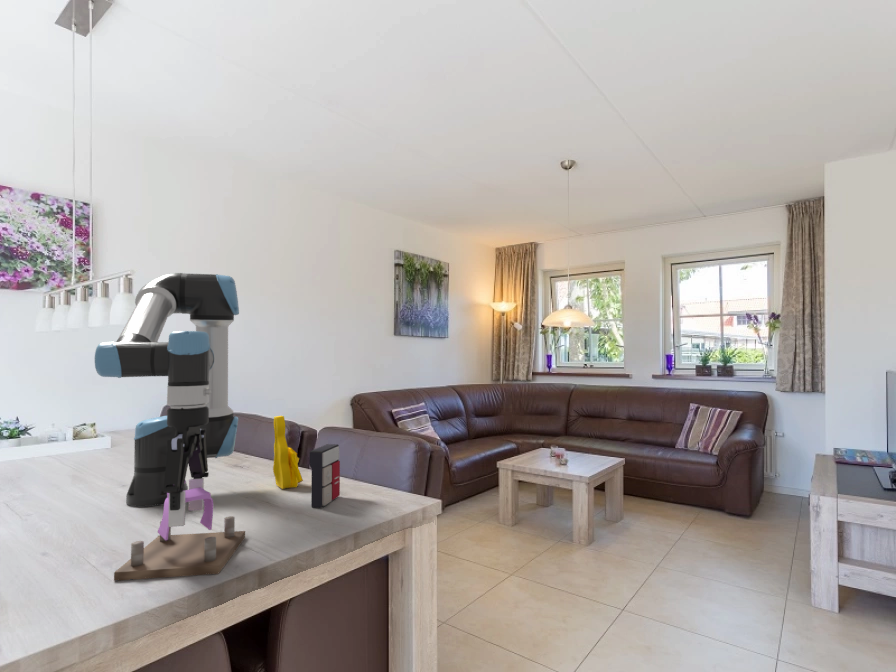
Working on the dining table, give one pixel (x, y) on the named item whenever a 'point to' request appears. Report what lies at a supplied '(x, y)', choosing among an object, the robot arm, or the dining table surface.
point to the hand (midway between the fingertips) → (186, 517)
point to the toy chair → (189, 496)
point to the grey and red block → (325, 475)
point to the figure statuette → (284, 458)
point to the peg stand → (182, 554)
